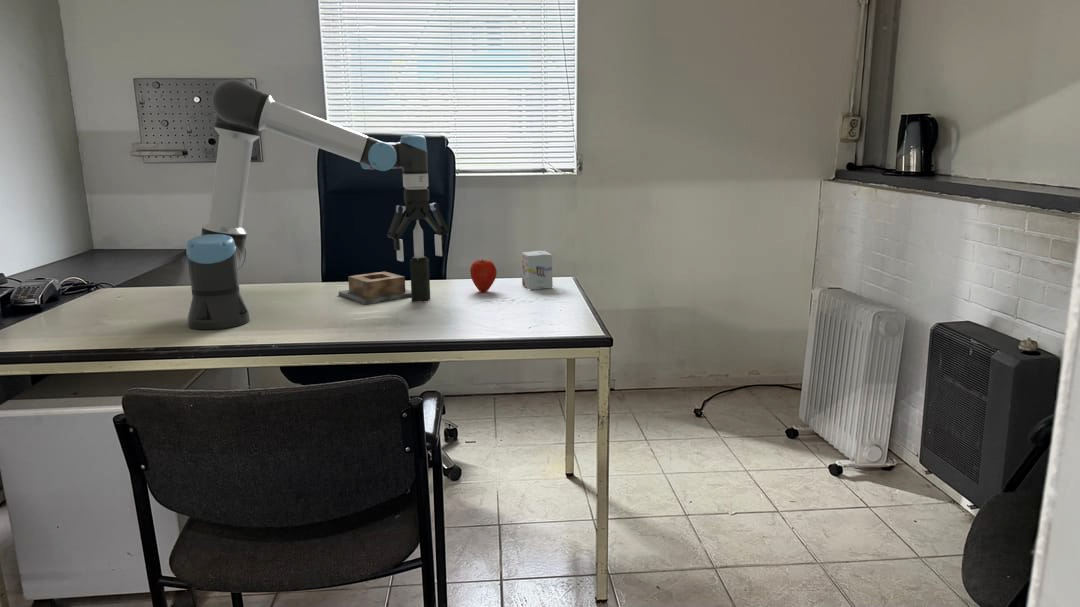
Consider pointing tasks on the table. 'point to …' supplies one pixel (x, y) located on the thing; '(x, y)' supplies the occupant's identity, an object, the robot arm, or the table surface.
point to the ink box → (537, 269)
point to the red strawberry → (483, 274)
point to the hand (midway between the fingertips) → (420, 258)
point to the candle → (419, 268)
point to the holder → (376, 287)
